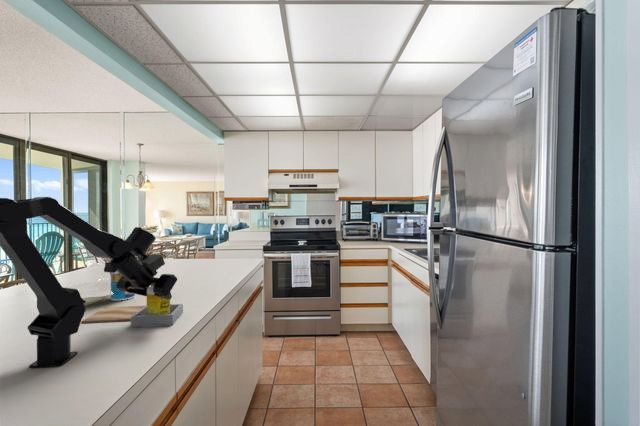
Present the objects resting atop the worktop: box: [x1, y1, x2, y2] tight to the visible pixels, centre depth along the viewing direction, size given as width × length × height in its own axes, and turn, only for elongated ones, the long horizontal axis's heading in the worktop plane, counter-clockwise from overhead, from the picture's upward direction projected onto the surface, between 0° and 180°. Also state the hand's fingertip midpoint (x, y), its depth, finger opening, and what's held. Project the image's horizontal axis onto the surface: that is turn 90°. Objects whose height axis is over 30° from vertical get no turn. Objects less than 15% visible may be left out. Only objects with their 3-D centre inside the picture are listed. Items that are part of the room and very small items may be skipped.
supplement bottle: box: [146, 276, 171, 315], centre depth 101 cm, size 7×7×13 cm
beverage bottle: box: [109, 271, 136, 302], centre depth 126 cm, size 8×8×20 cm
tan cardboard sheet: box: [80, 305, 145, 324], centre depth 106 cm, size 14×14×1 cm
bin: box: [130, 303, 184, 328], centre depth 101 cm, size 12×12×3 cm
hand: (162, 297), depth 103 cm, fingers closed on supplement bottle, 6 cm apart
